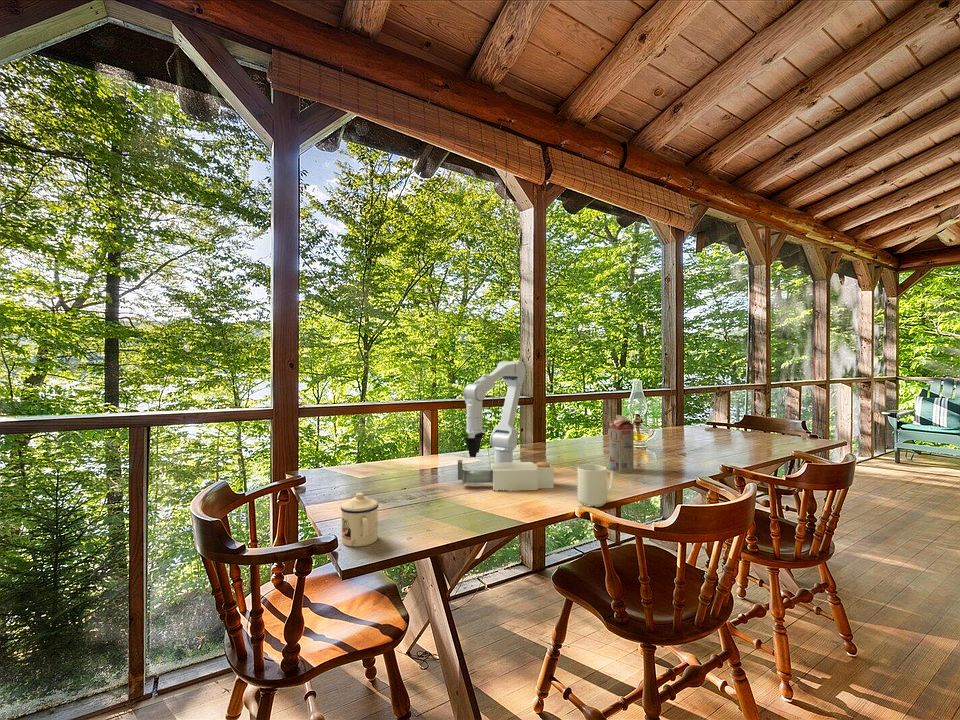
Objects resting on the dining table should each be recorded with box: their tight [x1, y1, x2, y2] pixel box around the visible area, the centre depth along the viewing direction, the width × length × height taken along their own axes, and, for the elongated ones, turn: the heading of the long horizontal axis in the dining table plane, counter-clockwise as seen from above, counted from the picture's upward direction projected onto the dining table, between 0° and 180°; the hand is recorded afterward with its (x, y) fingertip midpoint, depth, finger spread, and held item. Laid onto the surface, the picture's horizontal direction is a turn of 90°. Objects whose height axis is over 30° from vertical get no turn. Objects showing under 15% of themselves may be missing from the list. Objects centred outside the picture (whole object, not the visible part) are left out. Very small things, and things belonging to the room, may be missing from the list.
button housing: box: [490, 461, 555, 492], centre depth 167 cm, size 12×21×7 cm, turn 93°
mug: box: [577, 463, 615, 508], centre depth 148 cm, size 12×9×11 cm
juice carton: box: [608, 414, 635, 474], centre depth 189 cm, size 7×7×22 cm
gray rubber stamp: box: [457, 459, 493, 485], centre depth 166 cm, size 5×12×8 cm, turn 93°
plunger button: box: [536, 461, 551, 467], centre depth 168 cm, size 5×5×4 cm
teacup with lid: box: [340, 492, 380, 548], centre depth 117 cm, size 12×9×12 cm
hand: (474, 454), depth 172 cm, fingers open, 7 cm apart
